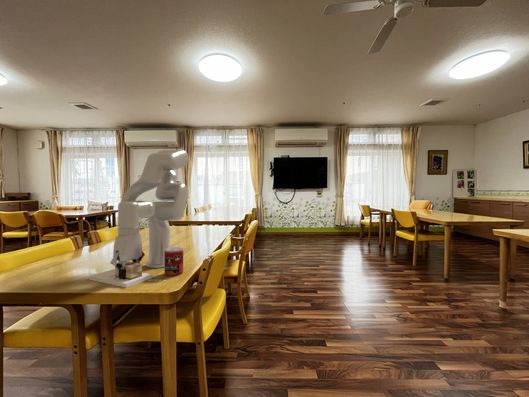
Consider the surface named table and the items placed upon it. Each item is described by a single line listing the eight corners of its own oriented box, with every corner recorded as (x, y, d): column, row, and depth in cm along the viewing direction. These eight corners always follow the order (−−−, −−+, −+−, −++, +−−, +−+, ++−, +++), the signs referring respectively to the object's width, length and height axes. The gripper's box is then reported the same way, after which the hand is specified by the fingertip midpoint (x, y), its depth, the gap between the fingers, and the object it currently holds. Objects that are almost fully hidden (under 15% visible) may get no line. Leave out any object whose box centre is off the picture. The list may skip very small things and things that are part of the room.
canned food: (160, 276, 104) (160, 250, 104) (170, 270, 112) (170, 246, 112) (177, 277, 103) (177, 251, 103) (186, 271, 111) (186, 247, 111)
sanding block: (126, 273, 103) (126, 261, 103) (142, 276, 99) (142, 263, 99) (115, 276, 98) (115, 264, 98) (131, 279, 95) (131, 267, 95)
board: (116, 271, 110) (116, 268, 110) (152, 277, 102) (152, 274, 102) (88, 279, 99) (88, 275, 99) (126, 287, 91) (126, 283, 91)
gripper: (139, 228, 108) (139, 269, 108) (101, 234, 92) (101, 282, 92) (152, 229, 105) (152, 271, 105) (115, 235, 89) (115, 284, 89)
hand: (128, 276), depth 99 cm, fingers closed on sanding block, 5 cm apart
